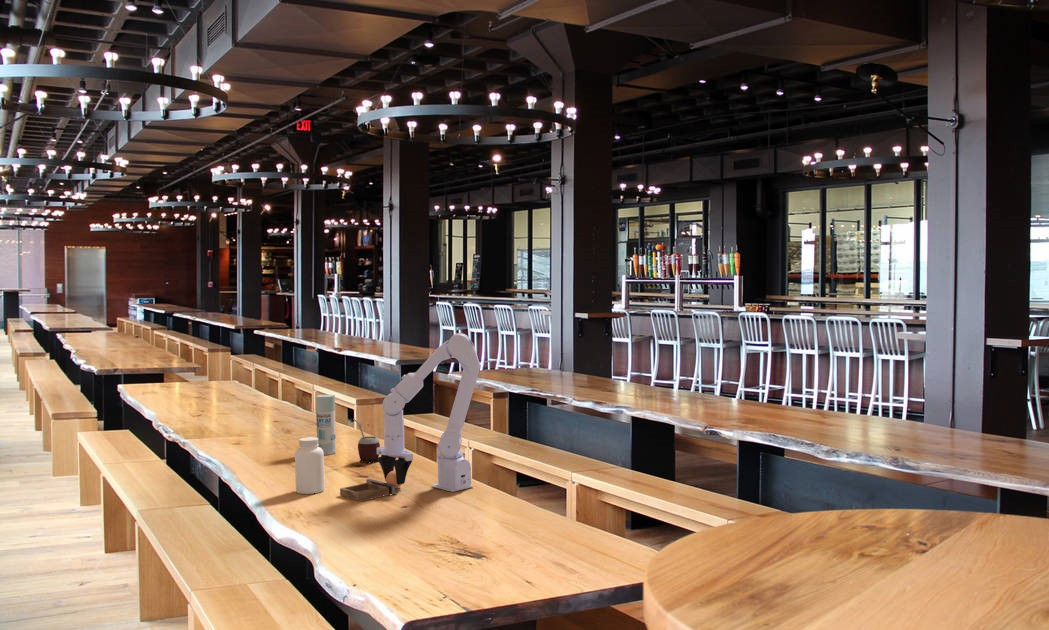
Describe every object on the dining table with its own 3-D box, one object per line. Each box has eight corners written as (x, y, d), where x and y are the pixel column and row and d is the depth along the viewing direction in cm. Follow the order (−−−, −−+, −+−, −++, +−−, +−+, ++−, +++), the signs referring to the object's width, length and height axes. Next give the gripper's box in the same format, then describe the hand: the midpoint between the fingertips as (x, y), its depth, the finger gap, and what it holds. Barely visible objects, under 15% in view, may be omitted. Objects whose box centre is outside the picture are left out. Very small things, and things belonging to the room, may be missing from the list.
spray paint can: (339, 451, 302) (338, 394, 301) (331, 455, 296) (330, 397, 295) (321, 451, 303) (320, 394, 303) (313, 454, 297) (312, 396, 296)
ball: (407, 487, 249) (407, 470, 248) (393, 491, 245) (393, 473, 245) (396, 485, 252) (396, 468, 252) (382, 488, 249) (382, 470, 248)
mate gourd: (382, 459, 288) (381, 414, 287) (376, 465, 280) (375, 418, 279) (360, 459, 289) (359, 414, 288) (353, 464, 281) (352, 418, 280)
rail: (395, 494, 241) (395, 485, 241) (391, 495, 240) (391, 486, 240) (370, 487, 250) (369, 478, 250) (366, 488, 249) (366, 479, 249)
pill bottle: (289, 493, 244) (288, 440, 243) (306, 487, 251) (305, 435, 250) (314, 495, 241) (312, 442, 240) (330, 489, 248) (329, 437, 248)
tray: (389, 494, 241) (389, 487, 241) (360, 501, 234) (360, 494, 234) (368, 489, 247) (368, 482, 247) (340, 495, 241) (340, 488, 240)
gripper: (367, 434, 250) (368, 480, 251) (398, 440, 240) (399, 488, 241) (387, 430, 255) (388, 476, 256) (418, 436, 245) (419, 484, 246)
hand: (394, 482), depth 249 cm, fingers closed on ball, 5 cm apart
